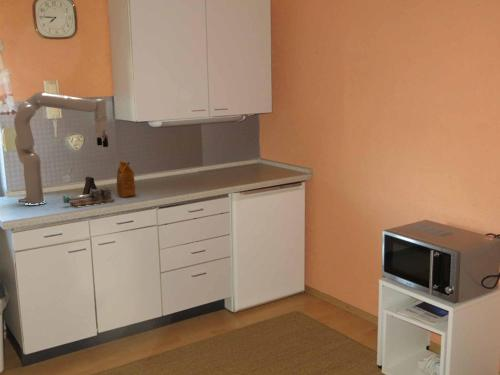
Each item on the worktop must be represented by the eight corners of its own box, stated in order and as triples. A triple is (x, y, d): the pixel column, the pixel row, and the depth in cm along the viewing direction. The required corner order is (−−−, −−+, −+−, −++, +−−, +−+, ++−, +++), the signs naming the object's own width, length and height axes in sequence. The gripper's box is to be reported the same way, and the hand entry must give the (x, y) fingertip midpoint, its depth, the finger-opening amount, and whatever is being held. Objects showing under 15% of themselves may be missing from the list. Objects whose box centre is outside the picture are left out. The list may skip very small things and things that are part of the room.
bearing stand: (74, 208, 346) (73, 195, 344) (68, 204, 356) (67, 191, 354) (114, 201, 358) (113, 189, 356) (107, 198, 368) (106, 186, 366)
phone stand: (86, 197, 371) (84, 178, 369) (82, 196, 376) (80, 177, 373) (99, 195, 377) (98, 176, 375) (95, 193, 382) (93, 175, 379)
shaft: (65, 204, 346) (64, 196, 345) (63, 202, 350) (62, 195, 349) (99, 199, 357) (98, 191, 356) (96, 197, 360) (96, 190, 359)
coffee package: (130, 192, 382) (128, 158, 377) (137, 196, 371) (134, 161, 367) (115, 194, 377) (112, 160, 372) (121, 198, 367) (119, 163, 362)
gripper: (89, 118, 376) (91, 145, 379) (100, 120, 362) (102, 148, 366) (101, 117, 380) (103, 144, 384) (111, 119, 366) (113, 146, 370)
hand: (102, 146), depth 375 cm, fingers open, 9 cm apart
